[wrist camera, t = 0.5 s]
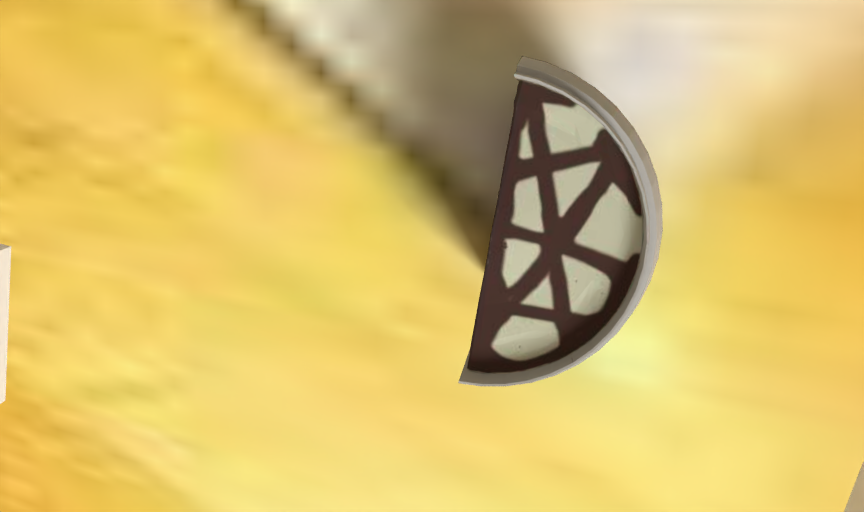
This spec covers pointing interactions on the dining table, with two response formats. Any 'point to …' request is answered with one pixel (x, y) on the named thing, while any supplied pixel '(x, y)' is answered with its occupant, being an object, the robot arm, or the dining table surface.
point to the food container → (563, 232)
